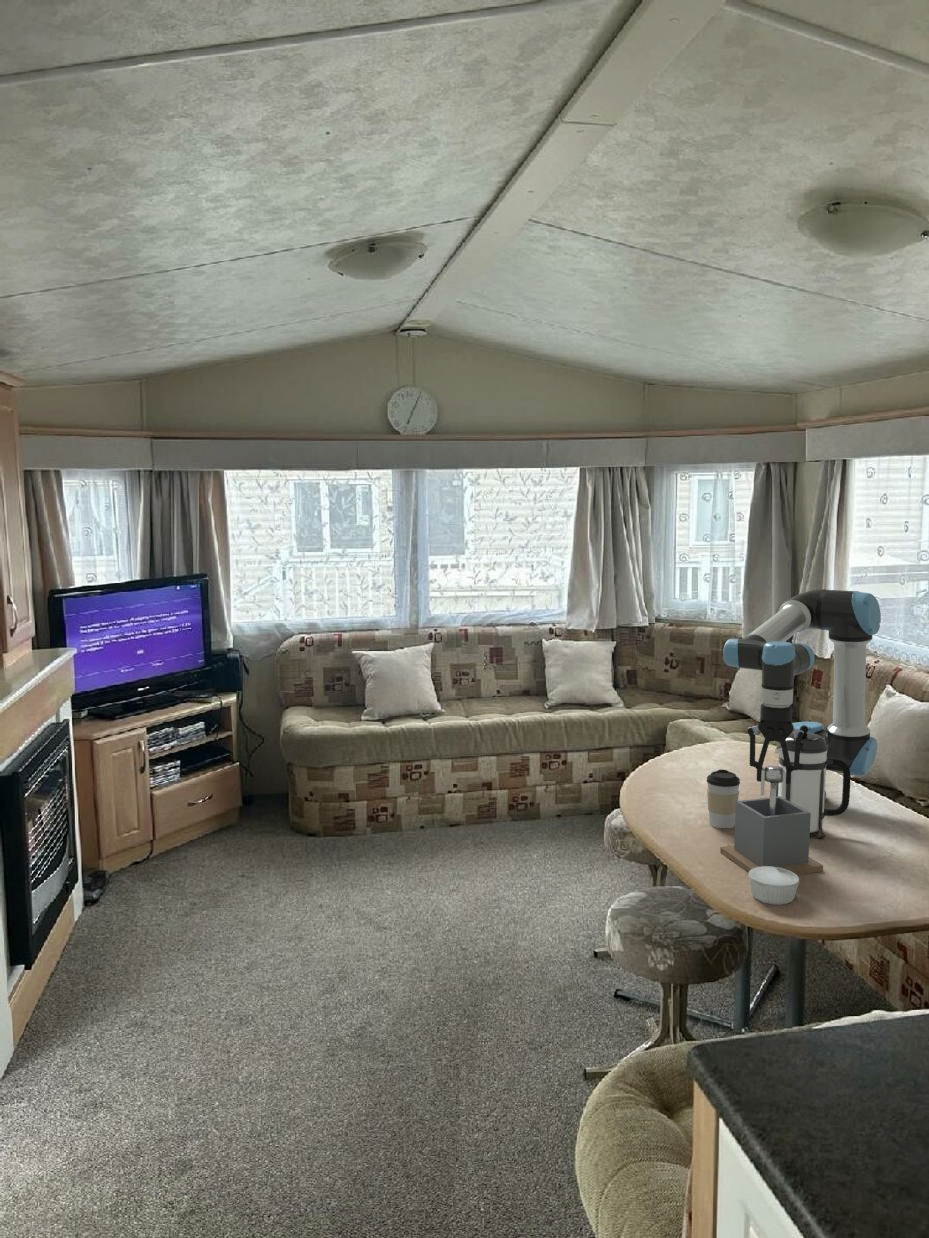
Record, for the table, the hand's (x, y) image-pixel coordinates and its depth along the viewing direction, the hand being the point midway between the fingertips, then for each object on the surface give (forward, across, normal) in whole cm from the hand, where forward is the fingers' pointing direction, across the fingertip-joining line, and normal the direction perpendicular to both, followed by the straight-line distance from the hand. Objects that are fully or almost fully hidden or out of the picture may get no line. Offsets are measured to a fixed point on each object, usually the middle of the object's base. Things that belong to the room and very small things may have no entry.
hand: (772, 794), depth 242 cm
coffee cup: (+18, -14, +23) cm, 33 cm away
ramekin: (+18, +1, -21) cm, 28 cm away
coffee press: (+18, +8, +25) cm, 32 cm away
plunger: (+15, 0, 0) cm, 15 cm away
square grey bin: (+18, 0, 0) cm, 18 cm away
